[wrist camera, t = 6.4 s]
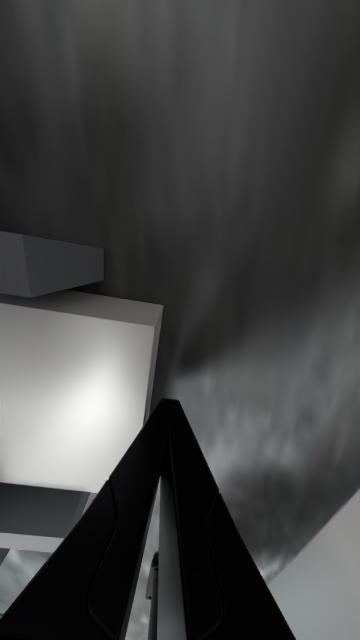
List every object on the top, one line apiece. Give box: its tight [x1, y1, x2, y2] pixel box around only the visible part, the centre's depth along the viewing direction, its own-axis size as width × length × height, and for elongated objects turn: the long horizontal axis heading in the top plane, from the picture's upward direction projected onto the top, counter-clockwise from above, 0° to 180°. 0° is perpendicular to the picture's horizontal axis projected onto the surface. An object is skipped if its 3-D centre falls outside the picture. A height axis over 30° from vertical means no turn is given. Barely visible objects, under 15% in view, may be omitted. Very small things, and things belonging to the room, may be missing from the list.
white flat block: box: [0, 290, 164, 493], centre depth 7 cm, size 8×10×2 cm
